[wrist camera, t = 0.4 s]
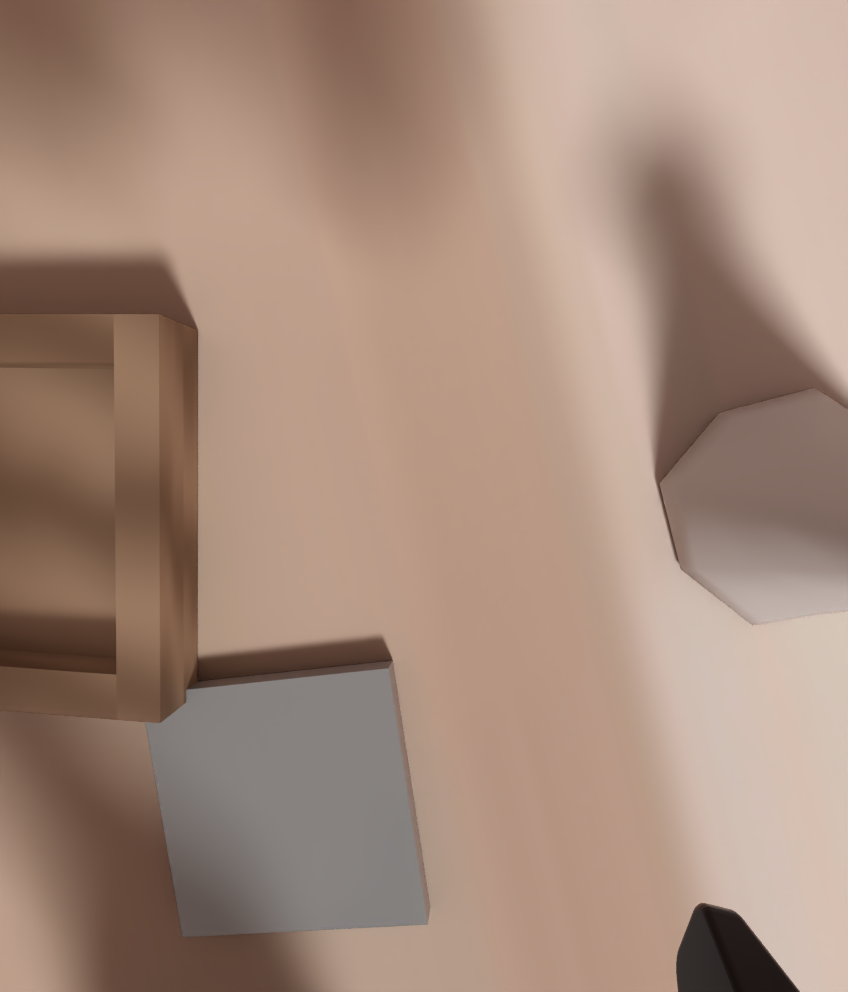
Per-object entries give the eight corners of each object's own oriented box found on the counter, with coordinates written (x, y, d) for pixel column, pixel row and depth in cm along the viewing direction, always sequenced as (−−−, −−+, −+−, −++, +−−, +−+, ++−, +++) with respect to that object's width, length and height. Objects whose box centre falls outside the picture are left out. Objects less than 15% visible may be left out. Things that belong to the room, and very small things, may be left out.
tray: (197, 693, 22) (160, 723, 20) (-122, 669, 24) (-193, 694, 21) (198, 330, 22) (159, 314, 19) (-134, 328, 23) (-210, 313, 21)
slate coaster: (430, 907, 22) (427, 924, 21) (193, 920, 23) (182, 937, 22) (392, 660, 21) (388, 668, 21) (153, 686, 23) (140, 694, 22)
